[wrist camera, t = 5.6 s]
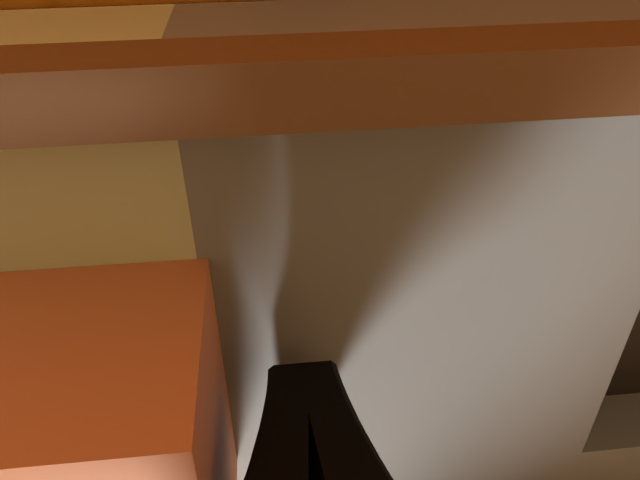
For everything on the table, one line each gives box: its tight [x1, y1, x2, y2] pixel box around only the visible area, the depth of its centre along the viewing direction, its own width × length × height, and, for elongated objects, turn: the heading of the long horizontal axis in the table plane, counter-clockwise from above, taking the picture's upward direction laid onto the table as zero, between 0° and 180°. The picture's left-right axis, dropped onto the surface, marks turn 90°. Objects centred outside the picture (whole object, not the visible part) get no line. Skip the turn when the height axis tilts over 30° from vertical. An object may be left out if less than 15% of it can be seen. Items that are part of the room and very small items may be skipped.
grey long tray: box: [0, 0, 640, 480], centre depth 13 cm, size 14×30×3 cm, turn 90°
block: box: [0, 258, 237, 480], centre depth 10 cm, size 6×6×4 cm
